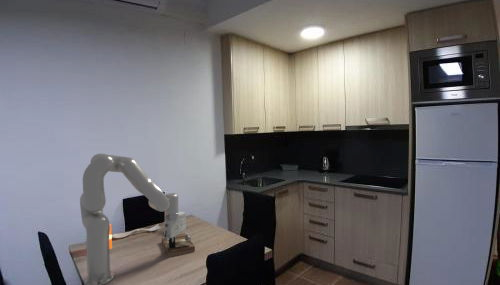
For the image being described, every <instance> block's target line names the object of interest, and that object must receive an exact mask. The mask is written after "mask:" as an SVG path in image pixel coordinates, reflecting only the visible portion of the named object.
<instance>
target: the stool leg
mask: <svg viewBox="0 0 500 285" xmlns="http://www.w3.org/2000/svg"><path fill="white" fill-rule="evenodd" d="M175 243H176V247H181V246H189V245H190V238H186V239H180V240H175ZM168 248H169V241H167V249H168Z"/></svg>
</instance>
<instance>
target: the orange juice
mask: <svg viewBox="0 0 500 285" xmlns="http://www.w3.org/2000/svg"><path fill="white" fill-rule="evenodd" d="M112 241H113V238H112V224H111V223H110V233H109V245H110V250H111V249H113V242H112Z"/></svg>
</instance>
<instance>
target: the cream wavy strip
mask: <svg viewBox="0 0 500 285" xmlns="http://www.w3.org/2000/svg"><path fill="white" fill-rule="evenodd" d="M159 225H160V224H159V223H158V224H156V225H154V226H151V227H150V228H136V229H134V230H131V231H126V232H119V233H113V234H112V233H111V234H112V239H123V238H126V237H128V236H129V235H131V234H133V233H135V232H139V231H147V232H155V231H158V230H161V229H162V227H161V226H159Z"/></svg>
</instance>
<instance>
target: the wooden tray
mask: <svg viewBox="0 0 500 285" xmlns="http://www.w3.org/2000/svg"><path fill="white" fill-rule="evenodd" d="M186 238H190V245H189V246H181V247H175V248H174V249H172V248H168V249H167V241H166V240H165V239H166V237H164V236H163V237H161V244H162V246H163V248H164V251H165V254H166V255H167V257H168V258H171V257H172V258H173V257H176V256H181V255H185V253H186V254H189V252H191V253H194V251H196V249H195V248H196V247H195V245H194V243H193V242H192V241H191V235H190V234H189V233H188V232H184V233H179V234H178V235H177V236H176V240H180V239H186ZM180 254H181V255H180Z"/></svg>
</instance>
